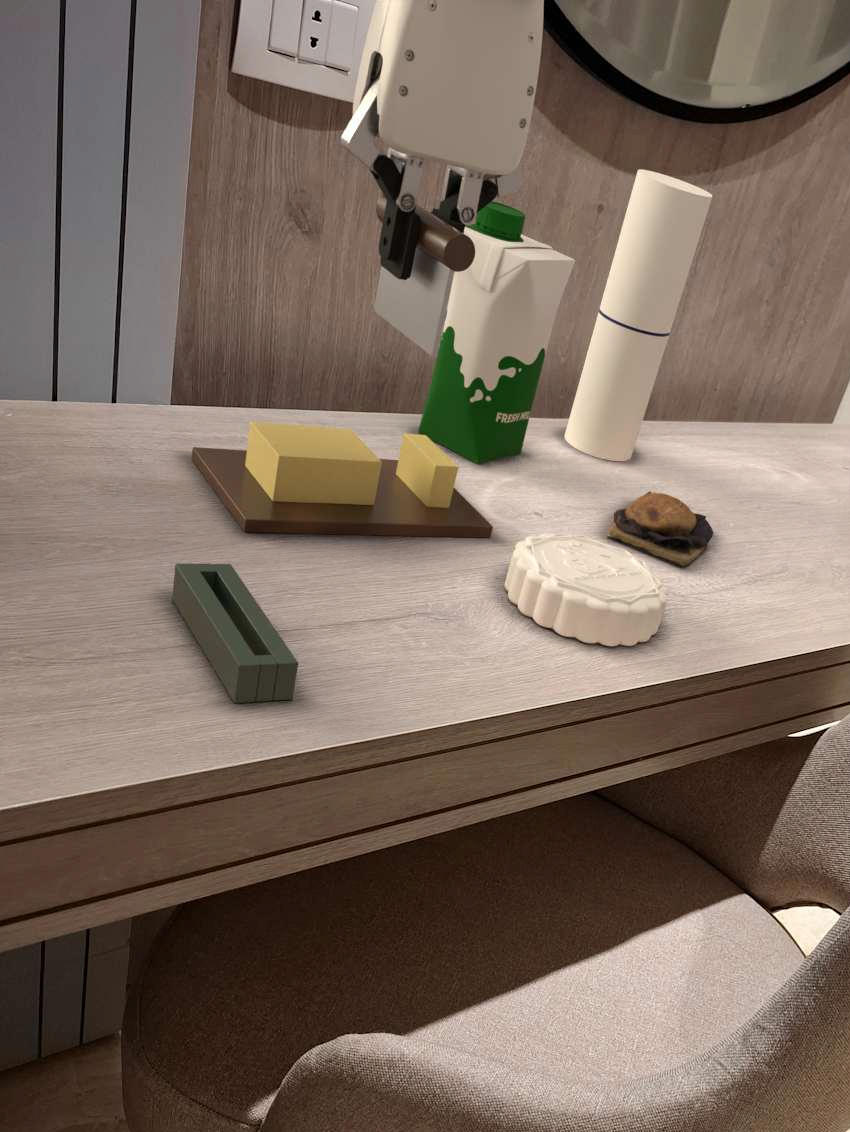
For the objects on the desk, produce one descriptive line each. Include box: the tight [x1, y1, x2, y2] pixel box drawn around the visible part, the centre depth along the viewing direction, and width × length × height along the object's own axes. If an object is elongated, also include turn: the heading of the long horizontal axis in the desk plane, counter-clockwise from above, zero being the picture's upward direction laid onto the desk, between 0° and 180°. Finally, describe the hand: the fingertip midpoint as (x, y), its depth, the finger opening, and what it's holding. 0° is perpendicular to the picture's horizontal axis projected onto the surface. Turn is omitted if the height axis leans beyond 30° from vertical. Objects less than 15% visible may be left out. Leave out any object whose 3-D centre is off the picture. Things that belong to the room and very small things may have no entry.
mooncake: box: [504, 531, 669, 647], centre depth 88 cm, size 12×12×4 cm
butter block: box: [245, 421, 382, 505], centre depth 89 cm, size 8×6×4 cm
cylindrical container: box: [563, 169, 713, 462], centre depth 114 cm, size 7×7×25 cm
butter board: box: [191, 446, 494, 538], centre depth 92 cm, size 20×12×1 cm, turn 123°
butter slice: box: [396, 432, 459, 508], centre depth 94 cm, size 2×6×4 cm, turn 33°
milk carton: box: [417, 200, 576, 465], centre depth 105 cm, size 9×9×20 cm
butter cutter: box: [373, 194, 475, 358], centre depth 78 cm, size 2×10×8 cm, turn 34°
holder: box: [171, 562, 299, 704], centre depth 70 cm, size 3×12×2 cm, turn 33°
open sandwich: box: [606, 491, 714, 567], centre depth 105 cm, size 11×8×4 cm
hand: (414, 273), depth 78 cm, fingers closed on butter cutter, 2 cm apart
